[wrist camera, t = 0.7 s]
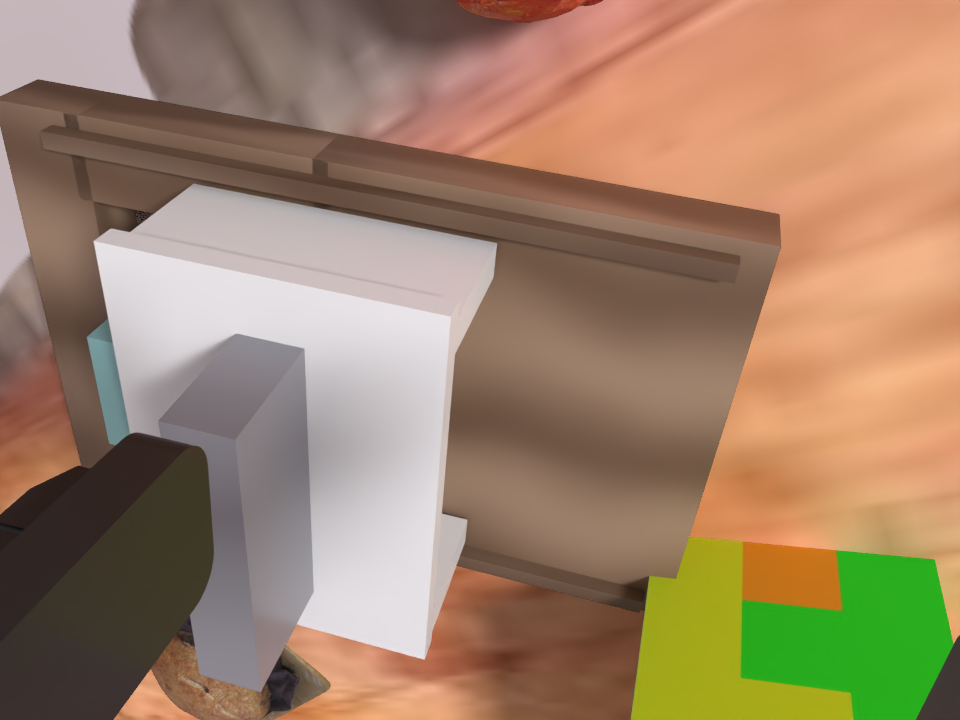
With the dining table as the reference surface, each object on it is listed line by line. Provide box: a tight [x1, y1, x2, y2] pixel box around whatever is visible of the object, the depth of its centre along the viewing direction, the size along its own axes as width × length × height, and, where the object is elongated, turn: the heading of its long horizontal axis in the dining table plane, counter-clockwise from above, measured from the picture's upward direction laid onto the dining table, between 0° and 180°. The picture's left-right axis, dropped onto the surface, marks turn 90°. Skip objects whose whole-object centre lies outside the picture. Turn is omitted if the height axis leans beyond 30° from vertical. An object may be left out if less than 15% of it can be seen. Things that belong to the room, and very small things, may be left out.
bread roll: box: [151, 616, 331, 720], centre depth 46 cm, size 11×8×4 cm
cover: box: [94, 184, 497, 692], centre depth 28 cm, size 14×10×9 cm
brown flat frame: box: [0, 80, 781, 613], centre depth 32 cm, size 16×25×3 cm, turn 85°
